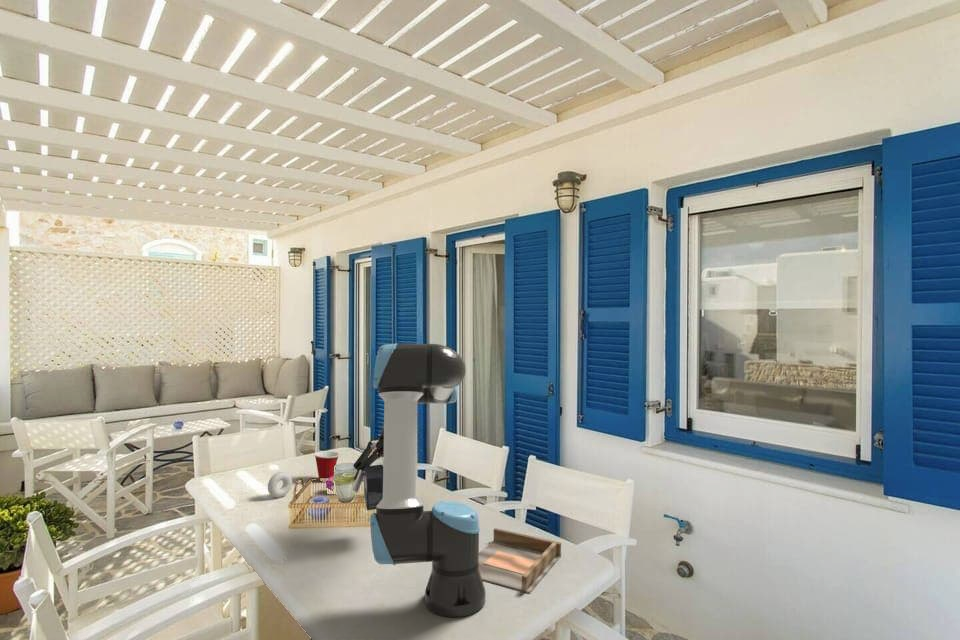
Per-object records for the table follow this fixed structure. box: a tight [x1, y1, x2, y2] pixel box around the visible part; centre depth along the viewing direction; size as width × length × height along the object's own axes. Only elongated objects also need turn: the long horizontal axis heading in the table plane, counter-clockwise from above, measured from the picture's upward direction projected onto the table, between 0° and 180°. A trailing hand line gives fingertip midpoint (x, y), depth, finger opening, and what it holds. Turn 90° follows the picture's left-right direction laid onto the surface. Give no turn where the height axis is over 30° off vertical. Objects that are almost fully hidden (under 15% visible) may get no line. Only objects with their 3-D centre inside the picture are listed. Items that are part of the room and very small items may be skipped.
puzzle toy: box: [325, 476, 335, 491], centre depth 205 cm, size 6×6×6 cm
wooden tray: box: [479, 527, 562, 594], centre depth 144 cm, size 24×22×4 cm
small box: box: [363, 464, 383, 511], centre depth 160 cm, size 11×6×10 cm, turn 18°
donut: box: [267, 471, 293, 499], centre depth 199 cm, size 10×4×10 cm, turn 143°
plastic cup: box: [313, 450, 340, 479], centre depth 221 cm, size 11×11×12 cm
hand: (370, 493), depth 158 cm, fingers closed on small box, 10 cm apart
